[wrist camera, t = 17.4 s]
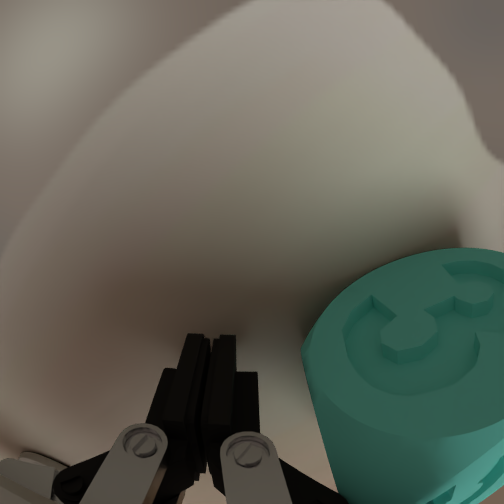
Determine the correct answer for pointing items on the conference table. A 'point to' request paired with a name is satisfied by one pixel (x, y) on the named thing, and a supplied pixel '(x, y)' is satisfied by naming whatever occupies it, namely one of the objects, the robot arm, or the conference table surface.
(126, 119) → the conference table surface
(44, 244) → the conference table surface
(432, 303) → the decorative dice
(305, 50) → the conference table surface
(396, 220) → the conference table surface
